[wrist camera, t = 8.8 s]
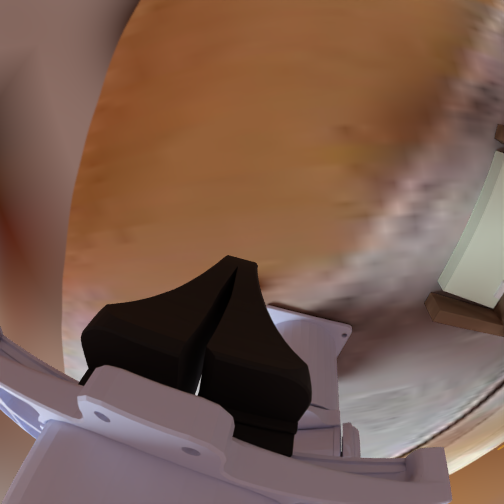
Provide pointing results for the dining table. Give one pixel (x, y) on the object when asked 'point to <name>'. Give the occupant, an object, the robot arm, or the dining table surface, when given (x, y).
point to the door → (481, 245)
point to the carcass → (464, 313)
